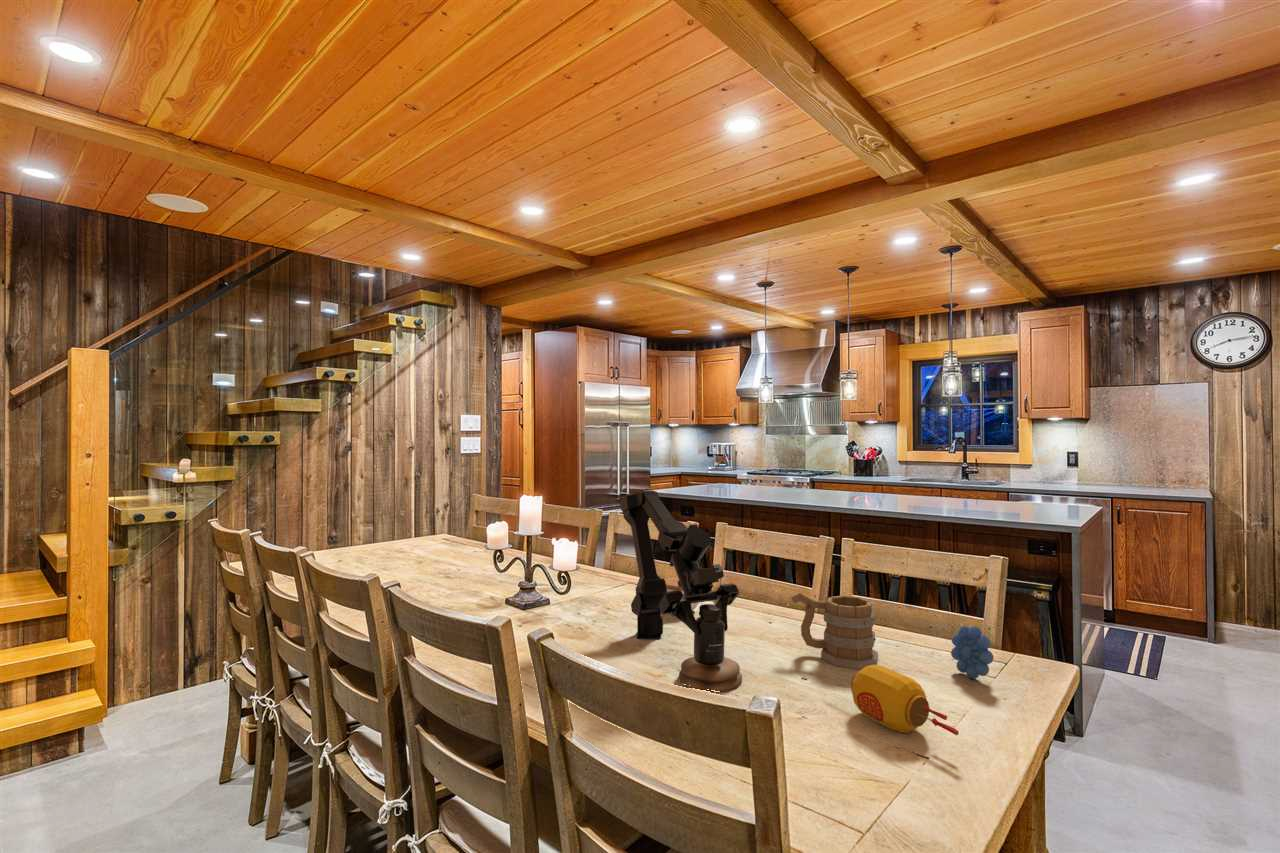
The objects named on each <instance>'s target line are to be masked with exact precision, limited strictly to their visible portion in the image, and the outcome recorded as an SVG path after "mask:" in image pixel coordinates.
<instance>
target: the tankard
mask: <svg viewBox="0 0 1280 853" xmlns="http://www.w3.org/2000/svg"><path fill="white" fill-rule="evenodd" d="M791 600H792V602H793V604H797V603H799V602H801V603H803V604H804V605H805V612H804V618H803V620H802V622H801V625H800V633H801V634H800V635H801V638H802V639H803V641H804V643H805V646H808V647H811V648H815V649H822V650H821V651H820V658H821V659H822V660H824V661H826V662H827V663H829V664H831V665H833V666H835V667H839V668H840V667H841V668H847V669H853V670H861V669H863V668H864V667H866V666H870V665H878V660H879V652H878V651H877V650H875V649H873V648H874V646H875V642H876V640H877V638H876V635H875V634H876V632H875V631H874V630H873V627H874V625H875V621H876V617H875V611H873V603H872V601H870V600H868V599H866V598H863V597H859V596H851V595H837V596H828V598H827V599H826V601H823V600H816V599H814V598H812V597H809V596H808V595H806V594H804V593H803V592H799V593H796V594H794V595H791ZM816 609H821V610H822V609H823V621H824V622H825V623H826V625H825V626H826V627H825V629H824V631H823V638H822V639H821V638H819V639H817V638H814V637H813V636H812V634H811V625H812V623H813V620H814V617H815V610H816Z"/></svg>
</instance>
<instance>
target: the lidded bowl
mask: <svg viewBox="0 0 1280 853" xmlns="http://www.w3.org/2000/svg"><path fill="white" fill-rule="evenodd" d="M663 579H664V580H665V582H666V589H667V592H669V591H677V590H680V591H681V592H682V594H684V592H683V589H682V587H679V586H678V582H679V578H678V576H669V577H665V578H663ZM699 604H700V602H698V603H691V609H692V612H694V610H695V609H696V608H697V607H698V606H699Z"/></svg>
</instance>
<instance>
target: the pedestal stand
mask: <svg viewBox="0 0 1280 853" xmlns="http://www.w3.org/2000/svg"><path fill="white" fill-rule="evenodd" d="M740 670H741V669H740V665H739V663H738V662H736V661H735V660H733V659H732V658H728V657H725V656H724V661H723V662H722V663H721V664H718V665H703V664H700V663H698V662H696V661H695V659H694V656H691V657H688V658H686V659H684V660H683V661H682V662H681V665H680V671H679V673H678V680H680V681H679V683H680V684H681V683H683V684H686V685H683V687H686V688H687V687H689V688H695V689H700V690H706V691H710V692H714V691H711V690H715V691H720V693H726V691H727V692H730V691H733V690H736V689H737V687H738V686H739V687H740V686H741V685H742V683H743V676H742V673H741V671H740ZM689 685H690V686H689ZM739 687H738V688H739ZM689 688H688V689H689ZM707 689H709V690H707ZM717 693H719V692H716V693H715V694H717Z"/></svg>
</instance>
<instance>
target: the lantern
mask: <svg viewBox="0 0 1280 853" xmlns="http://www.w3.org/2000/svg"><path fill="white" fill-rule="evenodd" d="M829 671H830V672H832V673H835V674H837V675H839V676H842V677H843V678H846V679H847V680H850V681H851V683H850V689H851V693H852V694H851V695H852V699H853V703H854V705H855V706H856V707H857V709H858V710H859V711H860V712H861V713H862V715H863V716H865V717H868V718H870V719H872V720H873V721H874V722H876V723H879V724H880V725H882V726H884V727H886V728H888V729H890V730H893V731H896V732H898V731H899V733H903V734H906V733H910V732H912V731H915V730H917V729H918V728H919V727H921V726H923V725H924V724H925V723H926V721H927V720H928V721H929V722H931V723H932V724H933V725H934V727H937V726H938V727H939V728H942V729H944V730H946V731H948V732H949V733H951V734H953V735H955V736H958V735H959V734H960V732H959V730H958V729H956V728H955V727H952V726H951V725H947V724H945V723H942V722H941V721H938V720H937V718H929V714H930V713H931V714H933V715H935V716H937V717H939V718H940V719H942V720H943V721H946V720H947V719H948V716H947V715H946V714H943V713H941V712H938V711H936V710H933V709H931V708H930V703H929V701H928V700H927V699H928V698H927V696H926V692H925V690H924V689H923V687H922V686H921V684H920V683H918V681H916V680H915V679H914V678H911V677H909V676H906V675H904V674H903V673H900V672H897V671H895V670H892V669H889V668H888V667H885V666H883V665H879V664H877V665H870V666H866V667H864V668H863V669H859V671H857V672H856V673H855V674H854V675H853V677H852V678H850V677H848V676H846V675H844V674H843V673H840V672H838V671H836V670H833V669H832V668H830V669H829Z"/></svg>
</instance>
